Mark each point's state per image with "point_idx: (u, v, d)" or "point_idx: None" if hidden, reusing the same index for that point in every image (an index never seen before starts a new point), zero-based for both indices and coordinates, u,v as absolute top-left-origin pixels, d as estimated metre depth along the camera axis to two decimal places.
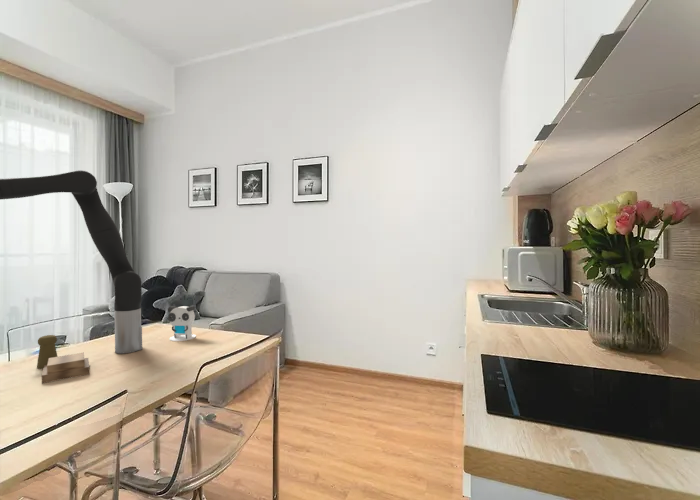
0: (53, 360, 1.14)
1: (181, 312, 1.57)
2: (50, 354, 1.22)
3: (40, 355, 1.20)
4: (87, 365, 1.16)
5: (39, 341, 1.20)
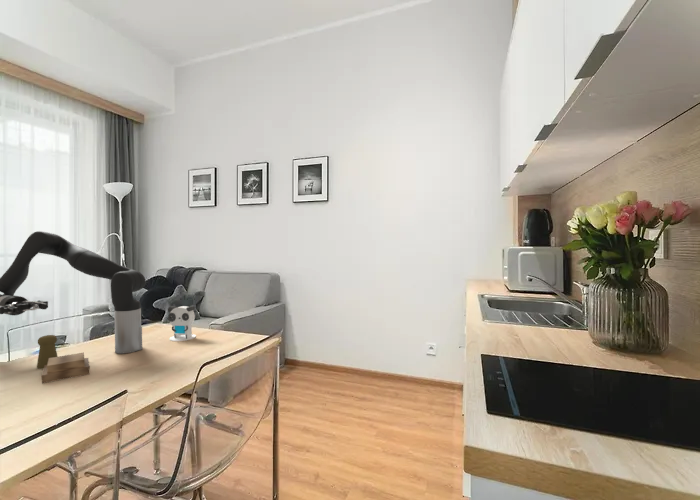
0: (53, 360, 1.14)
1: (181, 312, 1.57)
2: (50, 354, 1.22)
3: (40, 355, 1.20)
4: (87, 365, 1.16)
5: (39, 341, 1.20)
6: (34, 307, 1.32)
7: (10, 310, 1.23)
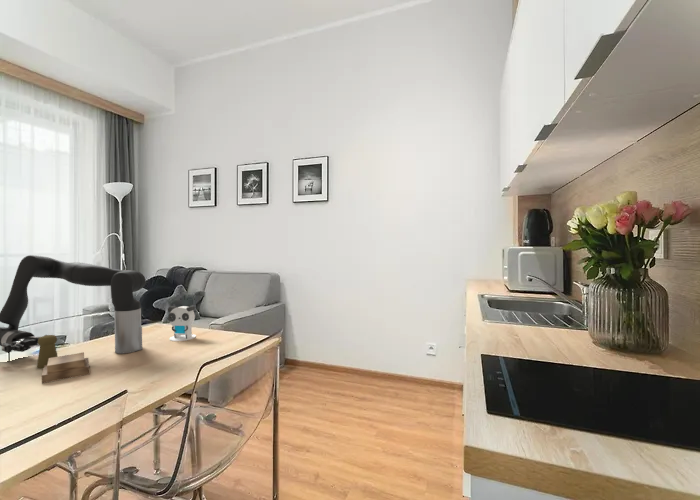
0: (53, 360, 1.14)
1: (181, 312, 1.57)
2: (51, 354, 1.22)
3: (40, 355, 1.20)
4: (87, 365, 1.16)
5: (39, 341, 1.20)
6: None
7: (17, 348, 1.22)
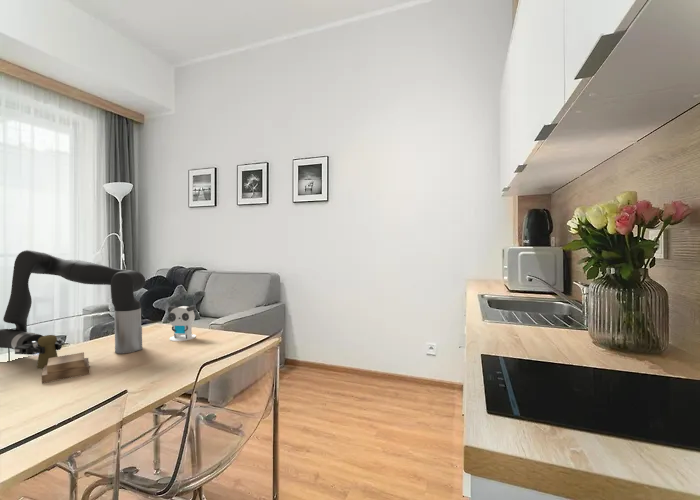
0: (53, 360, 1.14)
1: (181, 312, 1.57)
2: (51, 354, 1.22)
3: (40, 355, 1.21)
4: (87, 365, 1.16)
5: (39, 341, 1.20)
6: None
7: (37, 350, 1.19)
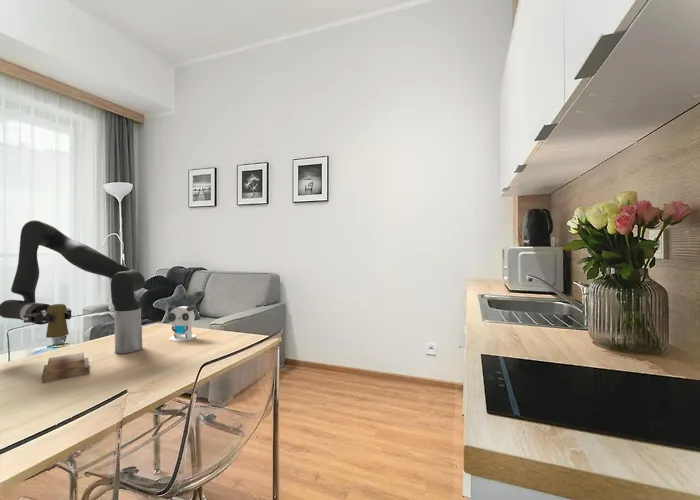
0: (53, 360, 1.14)
1: (181, 312, 1.57)
2: (60, 323, 1.17)
3: (49, 324, 1.16)
4: (87, 365, 1.16)
5: (48, 309, 1.16)
6: None
7: (46, 319, 1.15)
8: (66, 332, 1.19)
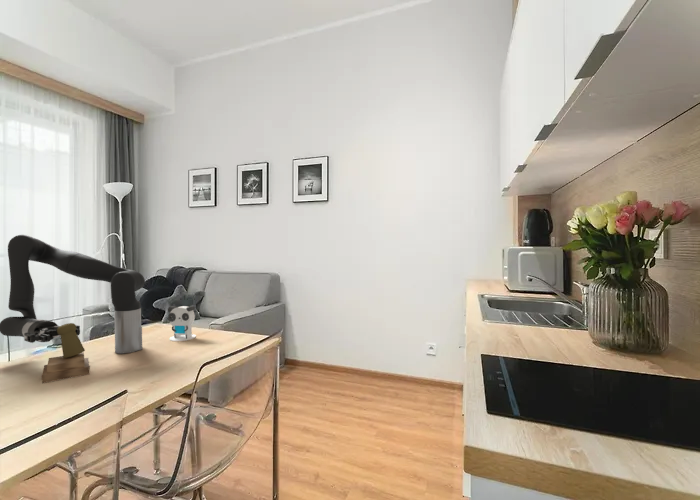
0: (53, 360, 1.14)
1: (181, 312, 1.57)
2: (74, 342, 1.17)
3: (63, 344, 1.16)
4: (87, 365, 1.16)
5: (58, 330, 1.15)
6: None
7: (41, 338, 1.12)
8: (82, 349, 1.19)
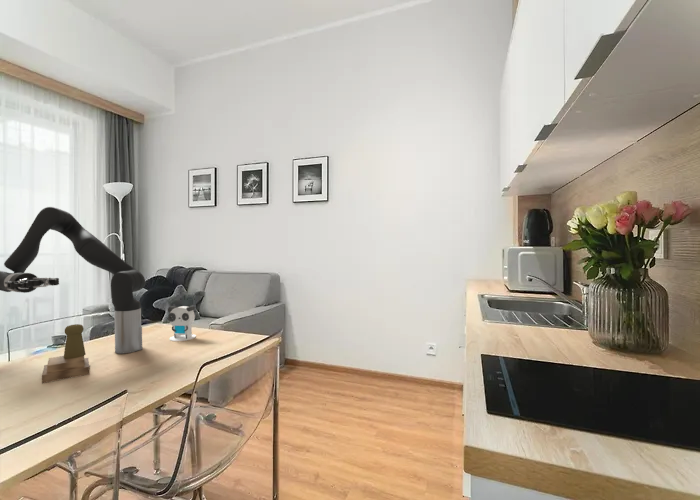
0: (53, 360, 1.14)
1: (181, 312, 1.57)
2: (78, 344, 1.17)
3: (67, 345, 1.16)
4: (87, 365, 1.16)
5: (66, 330, 1.16)
6: (45, 284, 1.28)
7: (21, 285, 1.19)
8: (83, 353, 1.19)
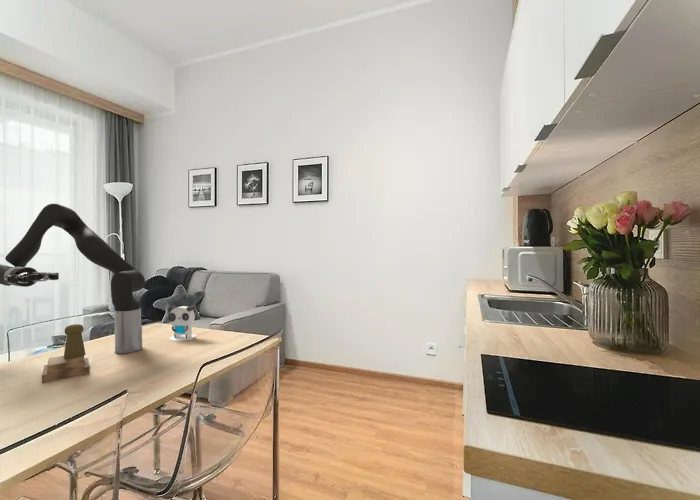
0: (53, 360, 1.14)
1: (181, 312, 1.57)
2: (78, 344, 1.17)
3: (67, 345, 1.16)
4: (87, 365, 1.16)
5: (66, 330, 1.16)
6: (45, 278, 1.29)
7: (20, 279, 1.19)
8: (83, 353, 1.19)
